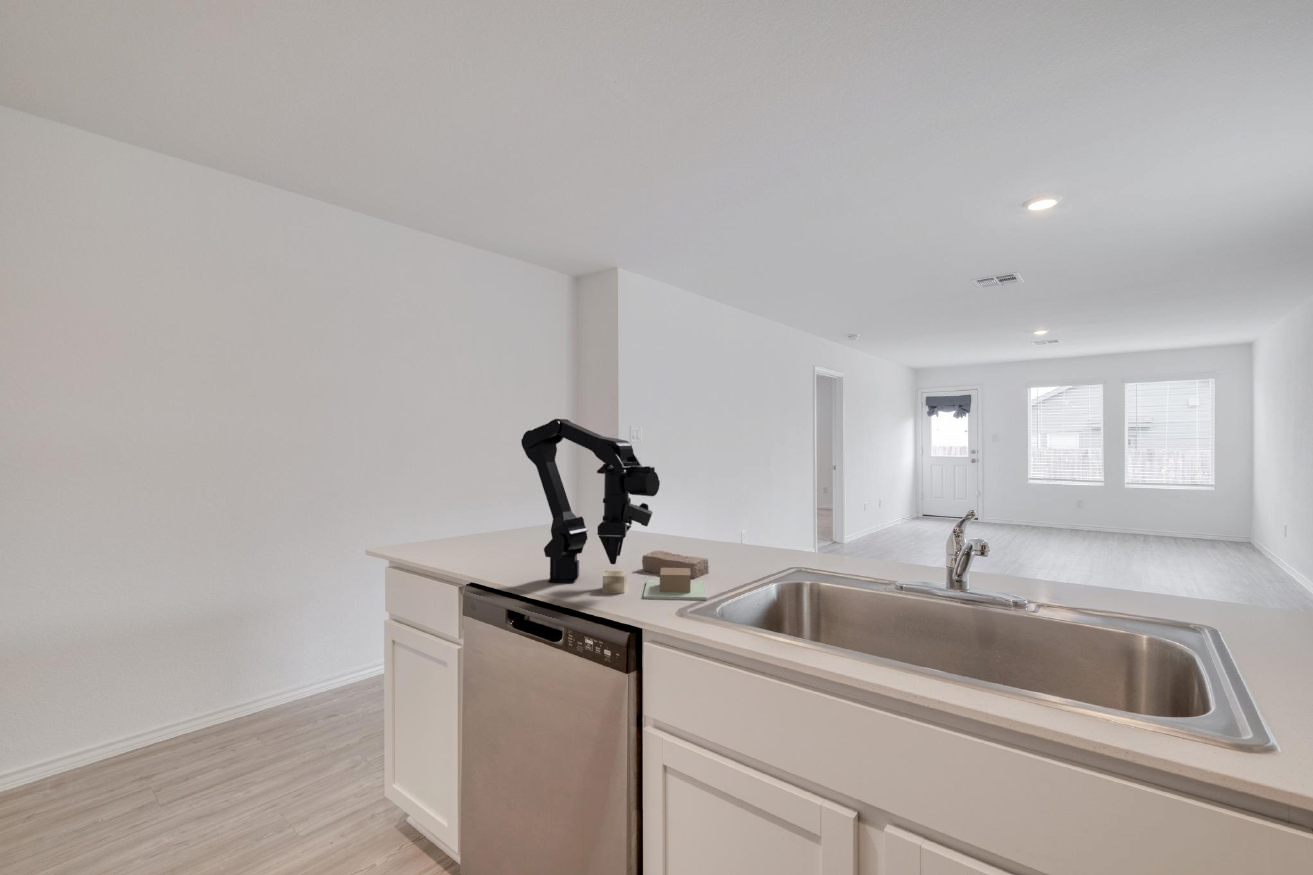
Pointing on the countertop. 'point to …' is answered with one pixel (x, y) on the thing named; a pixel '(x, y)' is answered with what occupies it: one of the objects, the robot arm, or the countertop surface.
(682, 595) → the baseplate
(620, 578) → the maple block
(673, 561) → the brick
